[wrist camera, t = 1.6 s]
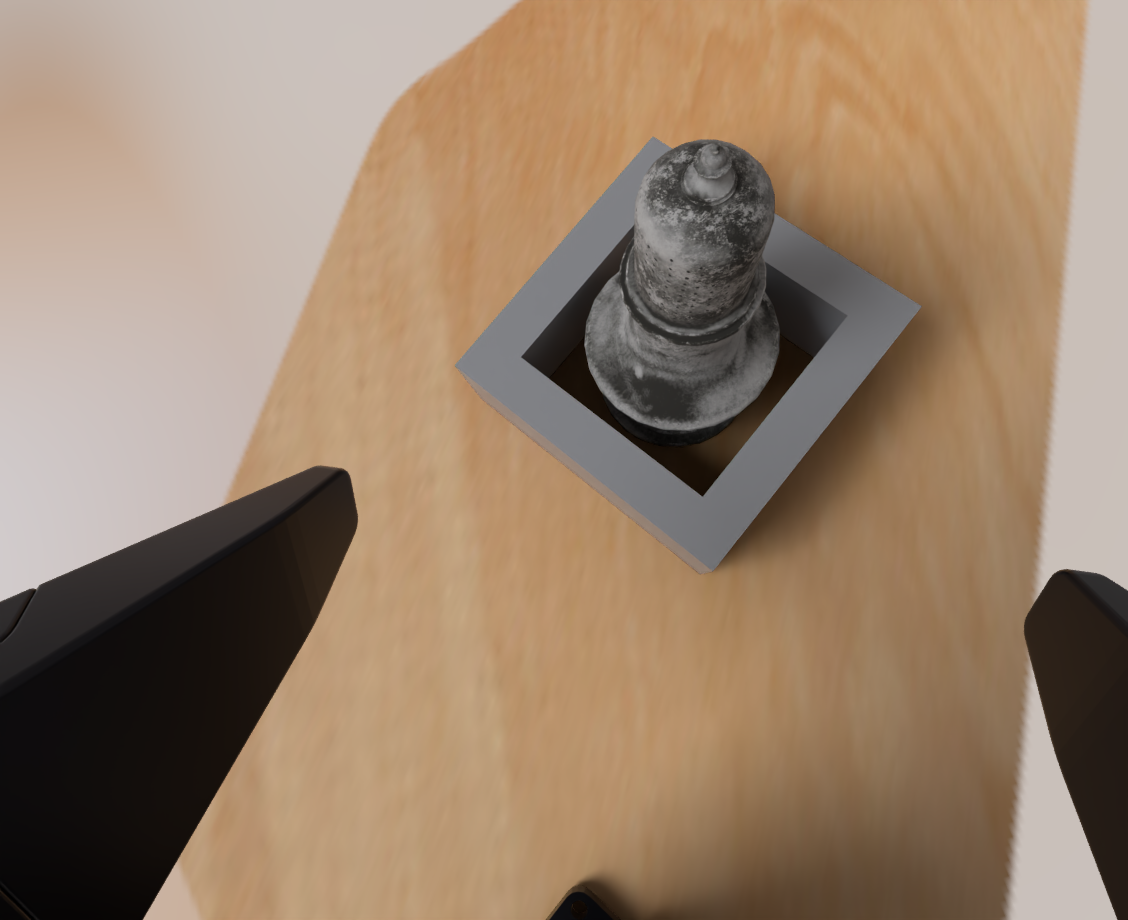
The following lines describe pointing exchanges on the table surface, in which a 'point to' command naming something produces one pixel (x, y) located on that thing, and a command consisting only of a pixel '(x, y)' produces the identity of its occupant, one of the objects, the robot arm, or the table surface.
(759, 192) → the salt shaker
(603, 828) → the table surface
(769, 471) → the socket block
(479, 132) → the table surface
